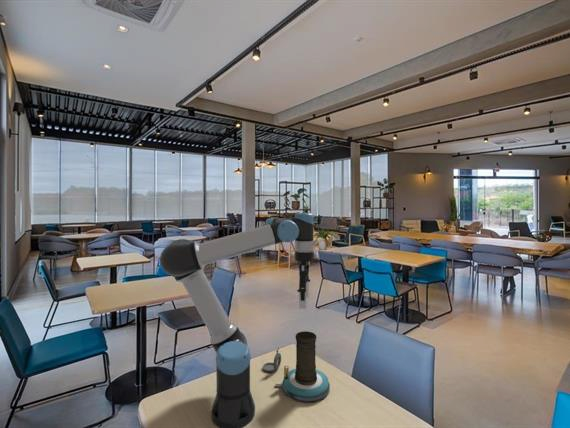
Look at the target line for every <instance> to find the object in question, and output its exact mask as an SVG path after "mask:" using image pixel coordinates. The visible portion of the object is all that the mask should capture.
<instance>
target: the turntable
mask: <svg viewBox="0 0 570 428" xmlns="http://www.w3.org/2000/svg"><path fill="white" fill-rule="evenodd" d="M295 372H296V368H294V369H290V370H289V366H288V365H284V366H283V380H284V387H285V388H286V390H287V391H288V392H290V393H292V394H294V395H296V396H300V397H315V396H319V395H321V394H323V393H324V392H325V391H326V390H327V389H328V382H329V379H328V376H327V375H326V374H325V373H324V372H323V371H321V370H318V369H316V373H317V381H316V383H315V384H313V385H301V384H299V383H297V382H296V380H295Z"/></svg>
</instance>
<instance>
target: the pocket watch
mask: <svg viewBox="0 0 570 428" xmlns="http://www.w3.org/2000/svg"><path fill="white" fill-rule="evenodd" d="M279 350H280V347H277V349H276V351H275V352H276V354H275V355H274V358H273V362H266V363H265V364H264V363H263V365H262V370H263V371H265V372H273V373H274V372H275V371H277V370H279V368H280V366H281V362H282V354H281V353H280V352H279Z"/></svg>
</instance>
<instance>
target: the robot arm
mask: <svg viewBox="0 0 570 428" xmlns="http://www.w3.org/2000/svg"><path fill="white" fill-rule="evenodd" d="M314 226H315V224H314V215H313V214H312V213H311V212H296V213H295V215H294V217H282V218H281V217H278V218H277V217H273V218H270V217H269V218H267V219H266V220H265V225H262V226H258V227H254V228H251V229H248V230H244V231H240V232H238V233H233V234H231V235H226V236H222V237H219V238H215V239H212V240H208V241H205V242H201V243H199V242H197V241H191V239H186V238H185V239H184V238H183V239H181V238H180V239H177V240H174V241H171V243H169V244H168V245H167V246H166V247H165V248H164V249H162V252H161V253H160V257H159V264H160V267H161V269H162V271H163V272H164V273H166V274H167V275H169V276H171V277H174V279H175V282H179V283H182V285H183V286H184V289H186V292H187V294H188V296H189V298H190V299H191V301H192V303H193V305H194V306H195V308H196V310H197V312H198V313H199V316H200V318H201V319H202V321H203V323H204V325H205V326H206V328H207V330H208V332H209V334H210V336H211V337H210V340H209V342H210V344H211V346H212V349H213V350H214V352H215V354H216V355H215V367H216V373H215V374H216V394H215V396H214V397H215V398H214V400H213V404H212V407H211V420H212V423H213V424H214V425H215V426H217V427H220V428H242V427H244V426H246V425H247V424H249V423H250V422H251V421H252V420H253V419H254V417H255V414H256V403H255V401H254V398H253V395H252V392H251V358H252V357H251V352H250V348H249V346H248V341H247V338H246V336H245V334H244V333H243V332H242V331H241V330H240V329H239V327H238V325H237V324H236V323H232V322H231V320H230V318H229V317H228V315H227V312H226V311H225V309H224V307H223V305H222V303H221V301H220V299H219V298H218V296H217V295H216V292H215V291H214V289H213V287H212V285H211V283H210V282H209V279H208V278H207V275H206V274H205V272H204V269H205V266H206V265H209V264H210V265H211V264H213V263H217V262H220V261H224V260H227V259H230V258H233V257H237V256H241V255H244V254H247V253H250V252H255V251H257V250H261V249H264V248H267V247H271V246H274V245H278V244H282V243H293V242H294V250H295V252H294V260H295V261H297V262H300V264H299V265H298V271H299V272H298V274H299V283H298V285H299V287H298V289H297V290H296V291H297V293H299V295H298V299H299V300H298V301H299V302H298V303H299V304H298V305H299V306H298V307H299V308H298V309H303V310H304V309H305V310H306V309H307V299H308V298H309V297H310V296H309V294H310V293H309V291H310V289H309V287H310V282H311V279H310V277H309V272H310V264H309V262H313V261H314V246H315V245H316V243H315V242H314V228H315V227H314Z"/></svg>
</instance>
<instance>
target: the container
mask: <svg viewBox="0 0 570 428" xmlns="http://www.w3.org/2000/svg"><path fill="white" fill-rule="evenodd" d="M316 340H317V335H316V333H314V332H311V331H305V330H303V331H299V332H297V333H296V334H295V341H296V344H295V348H296V351H295V353H296V355H295V356H296V358H295V359H296V361H295V362H296V363H295V369H296V372H295V380H296V382H297V383H299V384H301V385H313V384H315V383H316V381H317V373H316V370H317V366H316V347H317V345H316V342H317V341H316Z"/></svg>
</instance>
